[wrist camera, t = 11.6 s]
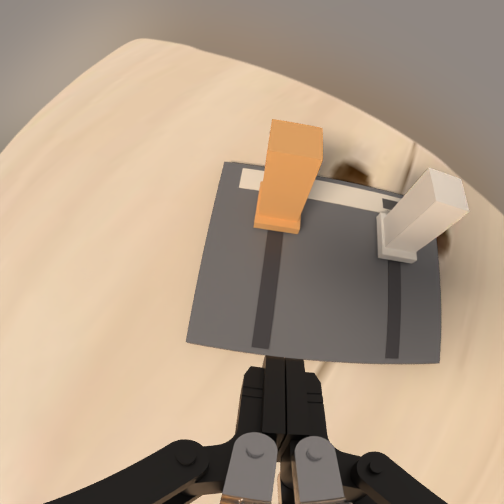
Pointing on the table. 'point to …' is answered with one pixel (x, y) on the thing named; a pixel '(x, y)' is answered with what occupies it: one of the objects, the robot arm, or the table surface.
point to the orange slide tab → (288, 175)
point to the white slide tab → (421, 216)
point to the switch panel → (313, 280)
